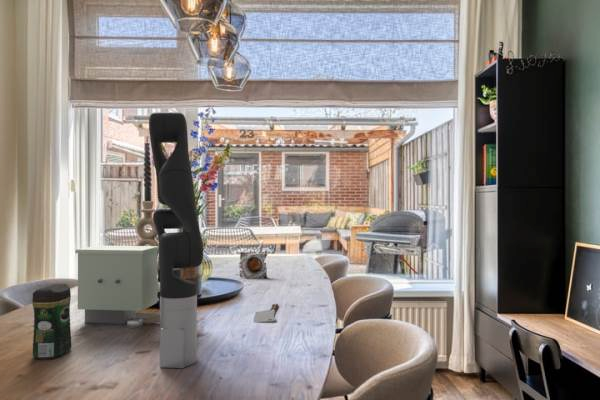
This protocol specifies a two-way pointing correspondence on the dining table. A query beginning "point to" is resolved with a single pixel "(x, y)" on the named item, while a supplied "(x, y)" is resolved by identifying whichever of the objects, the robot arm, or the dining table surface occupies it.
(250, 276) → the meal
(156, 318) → the wooden mallet
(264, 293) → the dining table surface
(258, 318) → the kitchen cleaver
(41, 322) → the coffee jar
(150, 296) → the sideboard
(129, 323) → the steel puck
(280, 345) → the dining table surface
